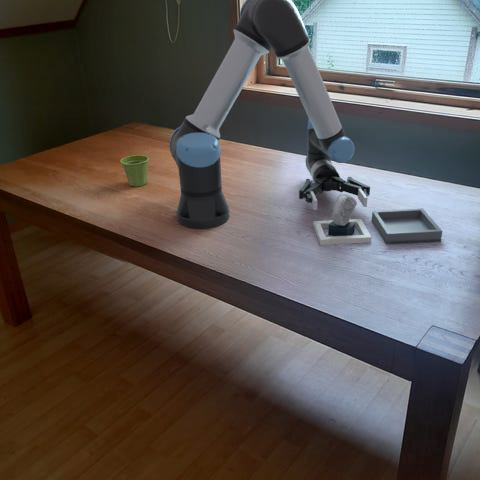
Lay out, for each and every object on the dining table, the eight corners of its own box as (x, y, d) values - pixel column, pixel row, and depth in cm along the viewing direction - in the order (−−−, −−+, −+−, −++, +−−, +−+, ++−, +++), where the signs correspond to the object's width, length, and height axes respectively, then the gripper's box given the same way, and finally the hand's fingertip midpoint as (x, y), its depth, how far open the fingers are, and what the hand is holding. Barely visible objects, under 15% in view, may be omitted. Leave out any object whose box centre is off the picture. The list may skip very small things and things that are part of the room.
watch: (357, 230, 139) (360, 192, 133) (344, 242, 133) (346, 203, 128) (338, 226, 142) (340, 188, 136) (324, 237, 136) (326, 198, 131)
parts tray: (386, 244, 131) (387, 233, 130) (371, 220, 144) (372, 211, 142) (440, 241, 131) (442, 231, 130) (421, 218, 144) (422, 208, 143)
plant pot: (127, 190, 170) (123, 165, 166) (121, 181, 178) (117, 157, 174) (154, 185, 174) (152, 161, 170) (147, 177, 181) (144, 153, 177)
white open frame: (320, 245, 132) (320, 239, 132) (313, 226, 142) (313, 221, 141) (371, 242, 132) (371, 237, 132) (360, 223, 142) (360, 218, 142)
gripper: (364, 185, 160) (385, 213, 141) (284, 189, 160) (294, 218, 141) (366, 162, 157) (387, 188, 138) (284, 166, 156) (295, 193, 137)
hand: (340, 203), depth 139 cm, fingers open, 13 cm apart
